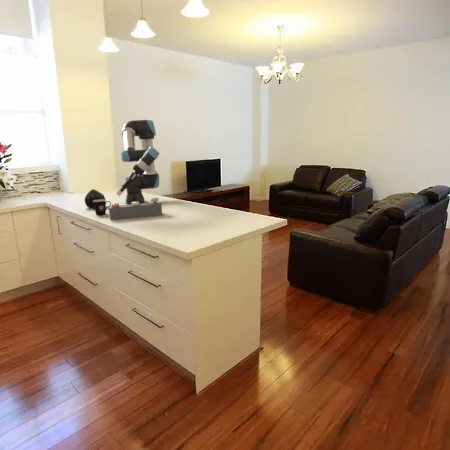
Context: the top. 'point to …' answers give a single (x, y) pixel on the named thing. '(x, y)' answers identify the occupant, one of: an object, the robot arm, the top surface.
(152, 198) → the button sage
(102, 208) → the coffee mug
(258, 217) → the top surface
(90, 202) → the squash
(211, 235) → the top surface
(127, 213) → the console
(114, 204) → the button terracotta
